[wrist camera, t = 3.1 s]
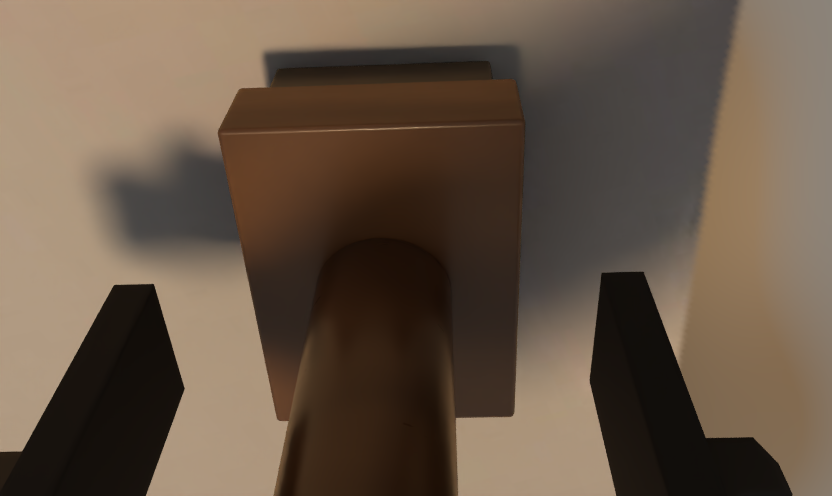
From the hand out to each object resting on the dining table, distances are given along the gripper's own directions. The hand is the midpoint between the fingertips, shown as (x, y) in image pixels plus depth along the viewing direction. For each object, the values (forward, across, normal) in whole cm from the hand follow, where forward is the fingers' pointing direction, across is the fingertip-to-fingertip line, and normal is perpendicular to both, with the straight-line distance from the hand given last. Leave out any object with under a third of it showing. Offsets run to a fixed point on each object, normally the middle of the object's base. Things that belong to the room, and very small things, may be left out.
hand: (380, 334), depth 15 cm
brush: (+5, 0, 0) cm, 5 cm away
